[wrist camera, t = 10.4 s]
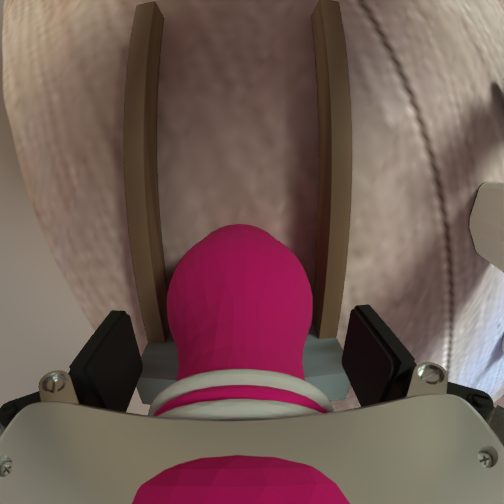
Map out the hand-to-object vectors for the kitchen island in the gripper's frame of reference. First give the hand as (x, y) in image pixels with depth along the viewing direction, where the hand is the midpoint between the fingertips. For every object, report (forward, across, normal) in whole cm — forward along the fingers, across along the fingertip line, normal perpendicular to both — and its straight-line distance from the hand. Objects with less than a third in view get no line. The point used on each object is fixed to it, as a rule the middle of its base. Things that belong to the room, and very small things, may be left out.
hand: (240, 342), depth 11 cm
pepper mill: (+8, 0, 0) cm, 8 cm away
